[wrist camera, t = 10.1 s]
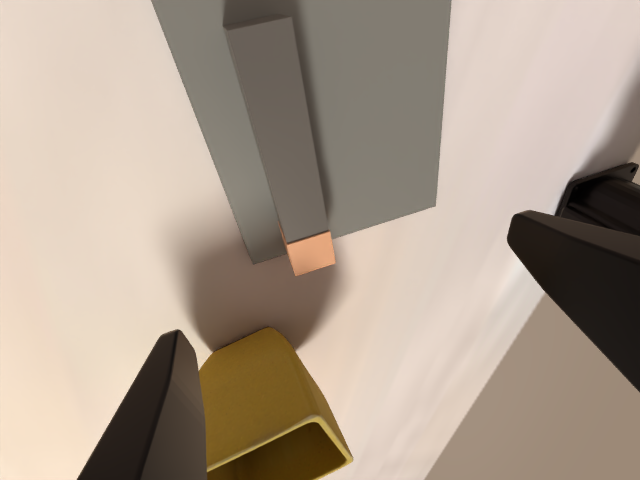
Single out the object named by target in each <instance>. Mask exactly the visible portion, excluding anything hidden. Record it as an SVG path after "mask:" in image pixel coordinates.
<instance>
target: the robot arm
mask: <svg viewBox="0 0 640 480" xmlns="http://www.w3.org/2000/svg"><path fill="white" fill-rule="evenodd" d="M638 167H639V165H638V164H635V163H633V162H631V163H628V164H625V165H622V166H619V167H616V168H613V169H610V170H607V171H604V172H601V173H598V174H595V175H592V176H589V177H586V178H583V179H580V180H577V181H574V182H572V183H571V184H570V185H569V186H568V188H567V191H566V193H565V196H564V199H563V202H562V205H561V207H560V210H559V213H558V216H553V215H549V214H545V213H541V212H536V211H532V210H526V211H523V212H520V213H517V214H515V215H514V216H513V217H512V220H511V224H510V227H509V231H508V235H507V242H508V244H509V246H510V248H511V249H512V250H513V252H514V253H515V254H516V255H517V257H518V258H519V259H520V261H521V262H522V263H523V265H524V266H525V267H526V268H527V270H528V271H529V272H530V274H531V275H532V276H533V278H534V279H535V280H536V281H537V283H538V284H539V285H540V286H541V288H542V289H543V290H544V291H545V292H546V293H547V294H548V295H549V297H550V298H551V299H552V300H553V301H554V302H555V303H556V304H557V305H558V306H559V307H560V308H561V309H562V310H563V311H564V312H565V314H566V315H567V316H568V317H569V318H570V319H571V320H572V321H573V322H574V323H575V324H576V325H577V326H578V327H579V328H580V330H581V331H582V332H583V333H584V334H585V335H586V336H587V337H588V338H589V339H590V340H591V341H592V342H593V343H594V344H595V345H596V346H597V348H598V349H599V350H600V351H601V352H602V353H603V354H604V355H605V356H606V357H607V358H608V359H609V360H610V361H611V362H612V363H613V365H614V366H615V367H616V368H617V369H618V370H619V371H620V372H621V373H622V374H623V375H624V376H625V377H626V378H627V379H628V380H629V382H631V384H632V385H633V386H634V387H635V388H636V389H637V390H638V391H639V392H640V185H638V184H635V183H633V182H632V180H633V178H634V176H635V174H636V172H637V169H638ZM77 480H207V457H206V424H205V413H204V405H203V398H202V392H201V385H200V378H199V371H198V364H197V358H196V353H195V350H194V348H193V347H192V345H191V344H190V342H189V341H188V340H187V338H186V337H185V335H184V334H183V332H182V331H181V330H178V329H177V330H173V331H170V332H168V333H165V334H162V335H161V336H160V337H159V339H158V340H157V342H156V344H155V346H154V347H153V349H152V351H151V352H150V354H149V356H148V358H147V359H146V361H145V363H144V364H143V366H142V368H141V370H140V371H139V373H138V375H137V377H136V378H135V380H134V382H133V383H132V385H131V387H130V389H129V390H128V392H127V394H126V396H125V397H124V399H123V401H122V402H121V404H120V406H119V408H118V409H117V411H116V413H115V415H114V416H113V418H112V420H111V421H110V423H109V425H108V427H107V428H106V430H105V432H104V433H103V435H102V437H101V439H100V440H99V442H98V444H97V446H96V447H95V449H94V451H93V452H92V454H91V456H90V458H89V459H88V461H87V463H86V465H85V466H84V468H83V470H82V471H81V473H80V475H79V477H78V478H77Z"/></svg>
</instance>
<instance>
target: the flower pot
mask: <svg viewBox="0 0 640 480" xmlns="http://www.w3.org/2000/svg"><path fill="white" fill-rule="evenodd" d="M199 378H200V385H201V392H202V398H203V405H204V413H205V424H206V457H207V480H318V479H320V478H322V477H324V476H326V475H328V474H330V473H332V472H334V471H336V470H338V469H340V468H342V467H344V466H346V465H348V464H349V463H351V462H352V461H353V457H352V455H351V452H350V450H349V448H348V446H347V444H346V442H345V439H344V437H343V435H342V433H341V431H340V429H339V426H338V424H337V422H336V420H335V418H334V416H333V413H332V411H331V409H330V407H329V405H328V403H327V401H326V399H325V397H324V395H323V394H322V392H321V390H320V389H319V387H318V386H317V384H316V383H315V381H314V380H313V378H312V377H311V375H310V374H309V372H308V371H307V369H306V368H305V366H304V365H303V363H302V362H301V360H300V359H299V357H298V355H297V354H296V352H295V350H294V349H293V347H292V346H291V344H290V343H289V342H288V340H287V339H286V338H285V337H284V336H283V335H282V334H281V333H279V332H278V331H276V330H275V329H273V328H272V327H267V328H264V329H262V330H260V331H257V332H255V333H253V334H251V335H249V336H247V337H245V338H243V339H241V340H239V341H236V342H234V343H232V344H230V345H228V346H226V347H223V348H221V349H219V350H217V351H215V352H213V353H212V354H211V355H210V357H209V358H208V359H207V360H206V362H205V363H204V364H203V366H202V367H201V369H200V370H199Z"/></svg>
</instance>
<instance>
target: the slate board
mask: <svg viewBox="0 0 640 480" xmlns="http://www.w3.org/2000/svg"><path fill="white" fill-rule="evenodd" d="M151 1H152V4H153V6H154V9H155V12H156V14H157V17H158V19H159V22H160V25H161V27H162V30H163V32H164V35H165V38H166V40H167V43H168V45H169V48H170V50H171V53H172V56H173V58H174V61H175V63H176V66H177V69H178V71H179V74H180V76H181V79H182V82H183V84H184V87H185V89H186V92H187V95H188V97H189V100H190V102H191V105H192V108H193V110H194V113H195V115H196V118H197V121H198V123H199V126H200V128H201V131H202V133H203V136H204V139H205V141H206V144H207V146H208V149H209V152H210V154H211V157H212V159H213V162H214V165H215V167H216V170H217V172H218V175H219V178H220V180H221V183H222V185H223V188H224V191H225V193H226V196H227V198H228V201H229V204H230V206H231V209H232V211H233V214H234V216H235V219H236V222H237V224H238V227H239V229H240V232H241V235H242V237H243V240H244V242H245V245H246V248H247V250H248V253H249V255H250V258H251V261H252V263H253V264H256V263H259V262H263V261H266V260H269V259H272V258H275V257H278V256H281V255H284V254H287V252H286V248H285V245H284V241H283V238H282V234H281V231H280V227H279V224H278V218H277V214H276V211H275V207H274V204H273V200H272V197H271V193H270V190H269V186H268V183H267V179H266V176H265V172H264V169H263V165H262V162H261V158H260V155H259V151H258V148H257V144H256V141H255V138H254V134H253V131H252V127H251V124H250V120H249V117H248V113H247V110H246V106H245V103H244V99H243V96H242V92H241V89H240V85H239V82H238V78H237V75H236V71H235V68H234V64H233V61H232V58H231V54H230V51H229V47H228V44H227V40H226V37H225V33H224V30H223V26H224V25H229V24H234V23H238V22H243V21H248V20H252V19H257V18H262V17H266V16H271V15H275V14H281V15H286V16H290V17H292V23H293V28H294V34H295V40H296V46H297V51H298V57H299V63H300V69H301V74H302V80H303V86H304V91H305V97H306V103H307V109H308V114H309V120H310V126H311V132H312V137H313V143H314V149H315V155H316V160H317V166H318V172H319V178H320V183H321V189H322V195H323V200H324V206H325V212H326V218H327V223H328V229H329V230H330V233H331V239H334V238H338V237H341V236H344V235H347V234H350V233H353V232H356V231H359V230H363V229H366V228H369V227H372V226H375V225H378V224H381V223H384V222H388V221H391V220H394V219H397V218H400V217H403V216H406V215H409V214H412V213H416V212H419V211H422V210H425V209H428V208H431V207H434V206H436V195H437V182H438V169H439V156H440V143H441V130H442V117H443V104H444V91H445V77H446V64H447V51H448V38H449V25H450V12H451V0H151Z"/></svg>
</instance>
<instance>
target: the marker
mask: <svg viewBox="0 0 640 480" xmlns="http://www.w3.org/2000/svg"><path fill="white" fill-rule="evenodd" d="M223 30H224V33H225V37H226V40H227V44H228V47H229V51H230V54H231V58H232V61H233V64H234V68H235V71H236V75H237V78H238V82H239V85H240V89H241V92H242V96H243V99H244V103H245V106H246V110H247V113H248V117H249V120H250V124H251V127H252V131H253V134H254V138H255V141H256V144H257V148H258V151H259V155H260V158H261V162H262V165H263V169H264V172H265V176H266V179H267V183H268V186H269V190H270V193H271V197H272V200H273V204H274V207H275V211H276V214H277V218H278V224H279V227H280V231H281V234H282V238H283V241H284V245H285V248H286V252H287V254H288V257H289V260H290V263H291V265H292V268H293V271H294V273H295V276H299V275H302V274H305V273H308V272H311V271H314V270H317V269H320V268H323V267H326V266H329V265H332V264H335V263H336V262H335V257H334V251H333V245H332V239H331V233H330V230H329V229H328V223H327V218H326V212H325V206H324V200H323V195H322V189H321V183H320V178H319V172H318V166H317V160H316V155H315V149H314V143H313V137H312V132H311V126H310V120H309V114H308V109H307V103H306V97H305V91H304V86H303V80H302V74H301V69H300V63H299V57H298V51H297V46H296V40H295V34H294V28H293V23H292V17H290V16H286V15H281V14H275V15H271V16H266V17H262V18H257V19H252V20H248V21H243V22H238V23H234V24H229V25H224V26H223Z"/></svg>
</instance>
